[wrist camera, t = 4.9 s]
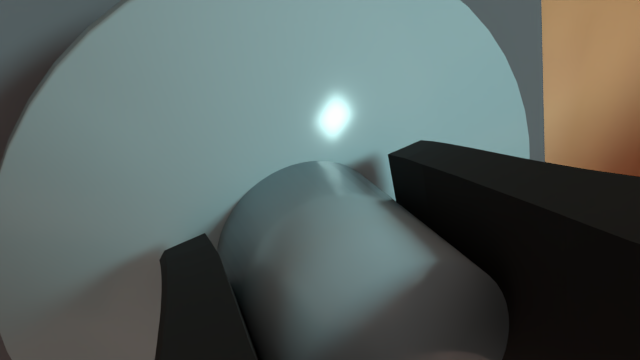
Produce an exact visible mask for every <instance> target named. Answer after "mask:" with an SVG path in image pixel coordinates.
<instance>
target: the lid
mask: <svg viewBox="0 0 640 360" xmlns="http://www.w3.org/2000/svg"><path fill="white" fill-rule="evenodd" d="M420 140H426V141H435V142H442V143H448V144H454V145H459V146H464V147H470V148H475V149H480V150H485V151H490V152H495V153H500V154H505V155H510V156H515V157H520V158H525V159H530V153H529V134H528V128H527V121H526V114H525V109H524V105H523V102H522V98H521V95H520V91H519V88H518V84H517V81H516V79H515V77H514V75H513V72H512V70H511V68H510V66H509V63H508V61H507V59H506V57H505V55H504V53H503V52H502V50H501V49H500V47H499V45H498V44H497V42H496V41H495V39H494V38H493V36H492V34H491V33H490V31H489V30H488V29H487V28H486V26H485V25H484V24H483V23H482V22H481V21H480V20H479V19H478V17H477V16H476V15H475V14H474V13H473V12H472V11H471V10H470V8H469V7H468V6H467V5H465V4H464V3H463V2H462V1H460V0H121V1H120V2H118V3H117V4H116V5H115V6H113V7H112V8H111V9H110V10H108V11H107V12H106V13H105V14H103V15H102V16H101V17H100V18H98V19H97V20H96V21H95V22H93V23H92V24H91V25H90V26H88V27H87V28H86V29H85V30H84V31H83V32H82V33H81V34H80V35H79V36H78V37H77V38H76V40H75V41H74V42H73V43H72V44H71V45H70V46H69V47H68V48H67V49H66V50H65V51H64V52H63V53H62V54H61V55H60V56H59V58H58V59H57V60H56V61H55V62H54V63H53V65H52V66H51V68H50V69H49V70H48V72H47V73H46V75H45V76H44V77H43V79H42V80H41V82H40V83H39V85H38V86H37V87H36V89H35V90H34V92H33V93H32V95H31V96H30V97H29V99H28V101H27V103H26V105H25V107H24V109H23V111H22V113H21V115H20V117H19V119H18V121H17V123H16V125H15V127H14V129H13V131H12V133H11V135H10V137H9V139H8V142H7V145H6V148H5V151H4V154H3V157H2V160H1V164H0V334H1V337H2V340H3V342H4V345H5V348H6V350H7V352H8V354H9V356H10V357H11V359H12V360H155V354H156V346H157V337H158V329H159V321H160V310H161V289H162V280H161V266H160V261H159V260H160V258H161V256H162V254H163V252H164V250H167V249H169V248H171V247H174V246H176V245H178V244H181V243H183V242H185V241H187V240H190V239H192V238H194V237H197V236H199V235H201V234H204V233H205V234H206V235H207V237H208V238H209V240H210V241H211V243H212V244H213V246H214V247H215V249H216V250H217V252H218V254H219V256H220V258H221V261H222V264H223V266H224V269H225V272H226V274H227V277H228V279H229V282H230V285H231V287H232V290H233V292H234V295H235V298H236V300H237V303H238V306H239V308H240V311H241V313H242V316H243V319H244V321H245V324H246V327H247V329H248V332H249V335H250V337H251V340H252V343H253V346H254V348H255V351H256V354H257V356H258V359H259V360H502V359H503V356H504V353H505V350H506V345H507V340H508V333H509V313H508V308H507V303H506V301H505V298H504V295H503V293H502V291H501V290H500V288H499V286H498V285H497V283H496V282H495V281H494V280H493V279H492V278H491V277H490V276H489V275H488V274H487V273H485V272H484V271H483V270H482V269H480V268H479V267H478V266H477V265H475V264H474V263H473V262H472V261H470V260H469V259H468V258H467V257H465V256H464V255H463V254H462V253H460V252H459V251H458V250H456V249H455V248H454V247H453V246H451V245H450V244H449V243H448V242H446V241H445V240H444V239H443V238H441V237H440V236H439V235H438V234H436V233H435V232H434V231H433V230H431V229H430V228H429V227H428V226H426V225H425V224H424V223H423V222H421V221H420V220H419V219H417V218H416V217H415V216H414V215H412V214H411V213H410V212H409V211H407V210H406V209H405V208H404V207H402V206H401V205H400V204H399V203H397V202H396V198H395V193H394V187H393V182H392V176H391V170H390V165H389V159H388V154H390V153H392V152H394V151H397V150H399V149H401V148H404V147H406V146H408V145H411V144H413V143H415V142H418V141H420Z"/></svg>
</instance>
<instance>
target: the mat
mask: <svg viewBox="0 0 640 360" xmlns="http://www.w3.org/2000/svg"><path fill="white" fill-rule="evenodd" d="M120 1H121V0H0V164H1V160H2V157H3V154H4V151H5V148H6V145H7V142H8V139H9V137H10V135H11V133H12V131H13V129H14V127H15V125H16V123H17V121H18V119H19V117H20V115H21V113H22V111H23V109H24V107H25V105H26V103H27V101H28V99H29V97H30V96H31V95H32V93H33V92H34V90H35V89H36V87H37V86H38V85H39V83H40V82H41V80H42V79H43V77H44V76H45V75H46V73H47V72H48V70H49V69H50V68H51V66H52V65H53V63H54V62H55V61H56V60H57V59H58V58H59V56H60V55H61V54H62V53H63V52H64V51H65V50H66V49H67V48H68V47H69V46H70V45H71V44H72V43H73V42H74V41H75V40H76V38H77V37H78V36H79V35H80V34H81V33H82V32H83V31H84V30H85V29H86V28H87V27H88V26H90V25H91V24H92V23H93V22H95V21H96V20H97V19H98V18H100V17H101V16H102V15H103V14H105V13H106V12H107V11H108V10H110V9H111V8H112V7H113V6H115V5H116V4H117V3H118V2H120ZM460 1H462V2H463V3H464V4H465V5H467V6H468V7H469V8H470V10H471V11H472V12H473V13H474V14H475V15H476V16H477V17H478V19H479V20H480V21H481V22H482V23H483V24H484V25H485V26H486V28H487V29H488V30H489V31H490V33H491V34H492V36H493V38H494V39H495V41H496V42H497V44H498V45H499V47H500V49H501V50H502V52H503V53H504V55H505V57H506V59H507V61H508V63H509V66H510V68H511V70H512V72H513V75H514V77H515V79H516V81H517V84H518V88H519V91H520V95H521V98H522V102H523V105H524V109H525V114H526V121H527V128H528V134H529V153H530V160H536V161H541V162H545V154H544V108H543V63H542V17H541V0H460ZM0 360H12V359H11V357H10V356H9V354H8V352H7V350H6V348H5V345H4V342H3V340H2V337H1V334H0Z"/></svg>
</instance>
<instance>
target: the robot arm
mask: <svg viewBox="0 0 640 360" xmlns="http://www.w3.org/2000/svg"><path fill="white" fill-rule="evenodd" d="M388 159H389V165H390V170H391V176H392V182H393V187H394V193H395V198H396V202H397V203H399V204H400V205H401V206H402V207H404V208H405V209H406V210H407V211H409V212H410V213H411V214H412V215H414V216H415V217H416V218H417V219H419V220H420V221H421V222H423V223H424V224H425V225H426V226H428V227H429V228H430V229H431V230H433V231H434V232H435V233H436V234H438V235H439V236H440V237H441V238H443V239H444V240H445V241H446V242H448V243H449V244H450V245H451V246H453V247H454V248H455V249H456V250H458V251H459V252H460V253H462V254H463V255H464V256H465V257H467V258H468V259H469V260H470V261H472V262H473V263H474V264H475V265H477V266H478V267H479V268H480V269H482V270H483V271H484V272H485V273H487V274H488V275H489V276H490V277H491V278H492V279H493V280H494V281H495V282H496V283H497V285H498V286H499V288H500V290H501V291H502V293H503V295H504V298H505V301H506V303H507V308H508V313H509V333H508V340H507V345H506V350H505V353H504V356H503V359H502V360H640V177H637V176H629V175H622V174H615V173H608V172H601V171H594V170H587V169H581V168H575V167H569V166H563V165H557V164H552V163H546V162H541V161H536V160H530V159H525V158H520V157H515V156H510V155H505V154H500V153H495V152H490V151H485V150H480V149H475V148H470V147H464V146H459V145H454V144H448V143H442V142H435V141H426V140H420V141H418V142H415V143H413V144H411V145H408V146H406V147H404V148H401V149H399V150H397V151H394V152H392V153H390V154H388ZM159 261H160V266H161V280H162V289H161V310H160V321H159V329H158V337H157V346H156V354H155V360H259V359H258V356H257V354H256V351H255V348H254V346H253V343H252V340H251V337H250V335H249V332H248V329H247V327H246V324H245V321H244V319H243V316H242V313H241V311H240V308H239V306H238V303H237V300H236V298H235V295H234V292H233V290H232V287H231V285H230V282H229V279H228V277H227V274H226V272H225V269H224V266H223V264H222V261H221V258H220V256H219V254H218V252H217V250H216V249H215V247H214V246H213V244H212V243H211V241H210V240H209V238H208V237H207V235H206V234H205V233H204V234H201V235H199V236H197V237H194V238H192V239H190V240H187V241H185V242H183V243H181V244H178V245H176V246H174V247H171V248H169V249H167V250H164V252H163V254H162V256H161V258H160V260H159Z"/></svg>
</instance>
